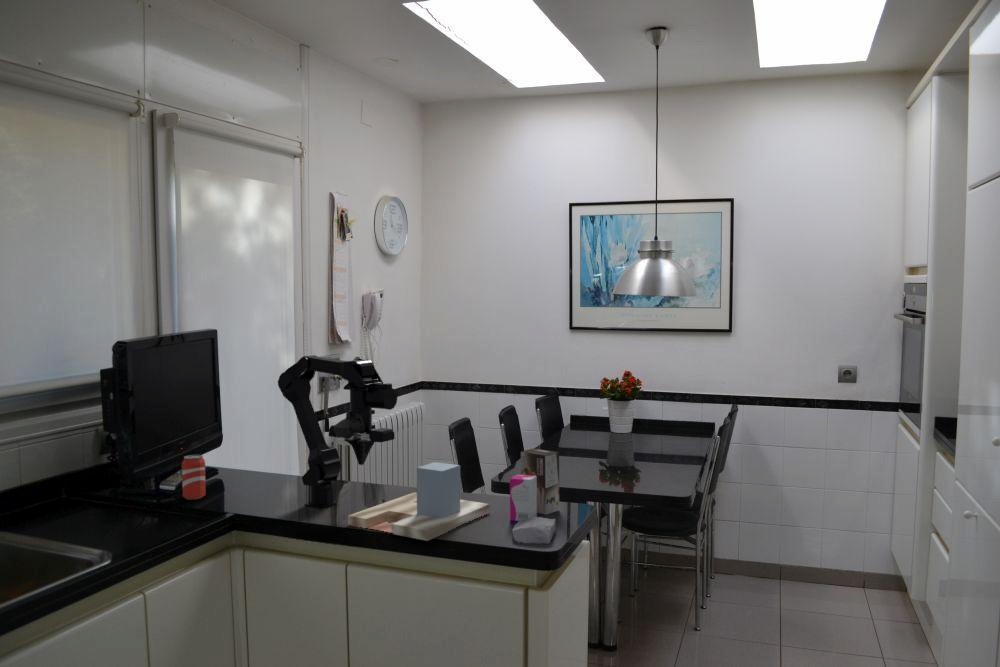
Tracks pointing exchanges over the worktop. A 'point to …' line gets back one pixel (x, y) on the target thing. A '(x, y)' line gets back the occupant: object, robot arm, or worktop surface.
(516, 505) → the supplement box
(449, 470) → the slate block
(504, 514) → the worktop surface
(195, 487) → the beverage can
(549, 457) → the coffee box
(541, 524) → the stone block
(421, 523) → the trap board
